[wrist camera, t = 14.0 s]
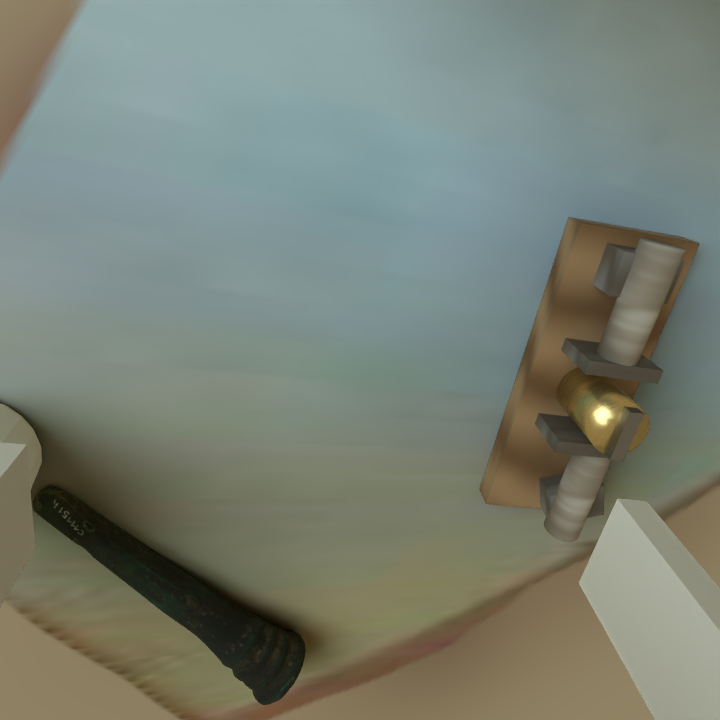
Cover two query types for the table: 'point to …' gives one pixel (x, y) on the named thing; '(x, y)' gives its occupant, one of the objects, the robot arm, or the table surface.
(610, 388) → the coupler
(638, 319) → the double roll holder
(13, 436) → the bottle
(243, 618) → the tool
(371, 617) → the table surface
